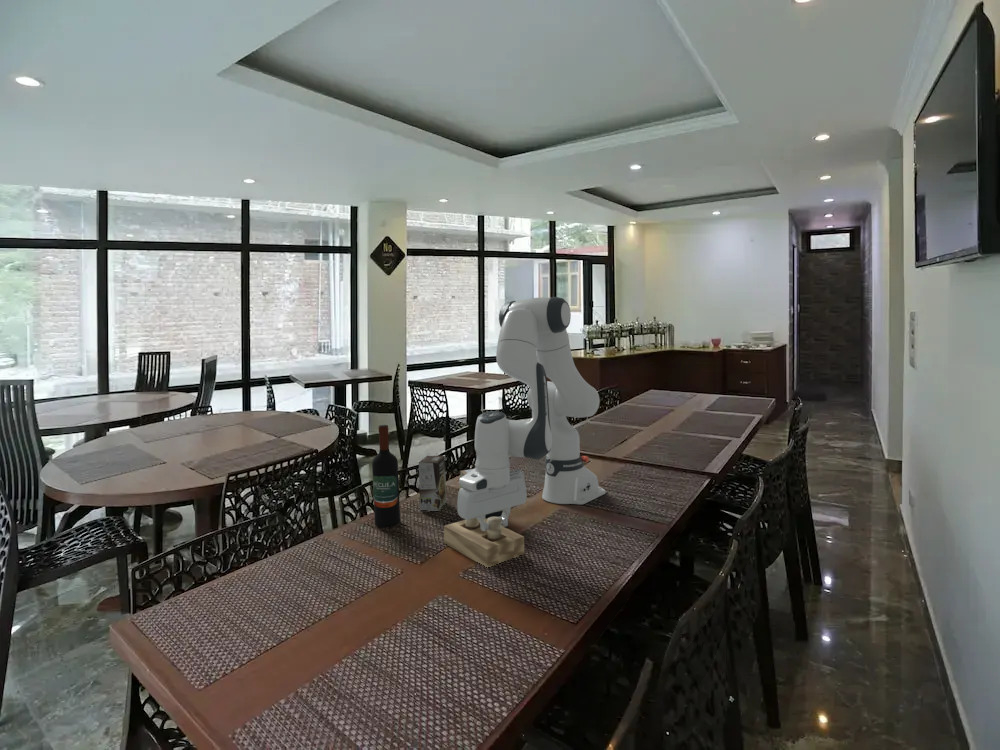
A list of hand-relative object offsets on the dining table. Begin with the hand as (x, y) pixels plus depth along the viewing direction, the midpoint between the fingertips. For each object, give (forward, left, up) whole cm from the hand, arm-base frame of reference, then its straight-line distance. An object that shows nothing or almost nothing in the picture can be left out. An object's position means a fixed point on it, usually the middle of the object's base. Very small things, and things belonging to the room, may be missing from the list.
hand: (494, 527), depth 152 cm
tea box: (-12, -21, -8) cm, 26 cm away
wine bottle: (+11, -39, -8) cm, 41 cm away
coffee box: (-7, -42, -8) cm, 43 cm away
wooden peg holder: (0, -5, -8) cm, 9 cm away
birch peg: (0, 0, -8) cm, 8 cm away
